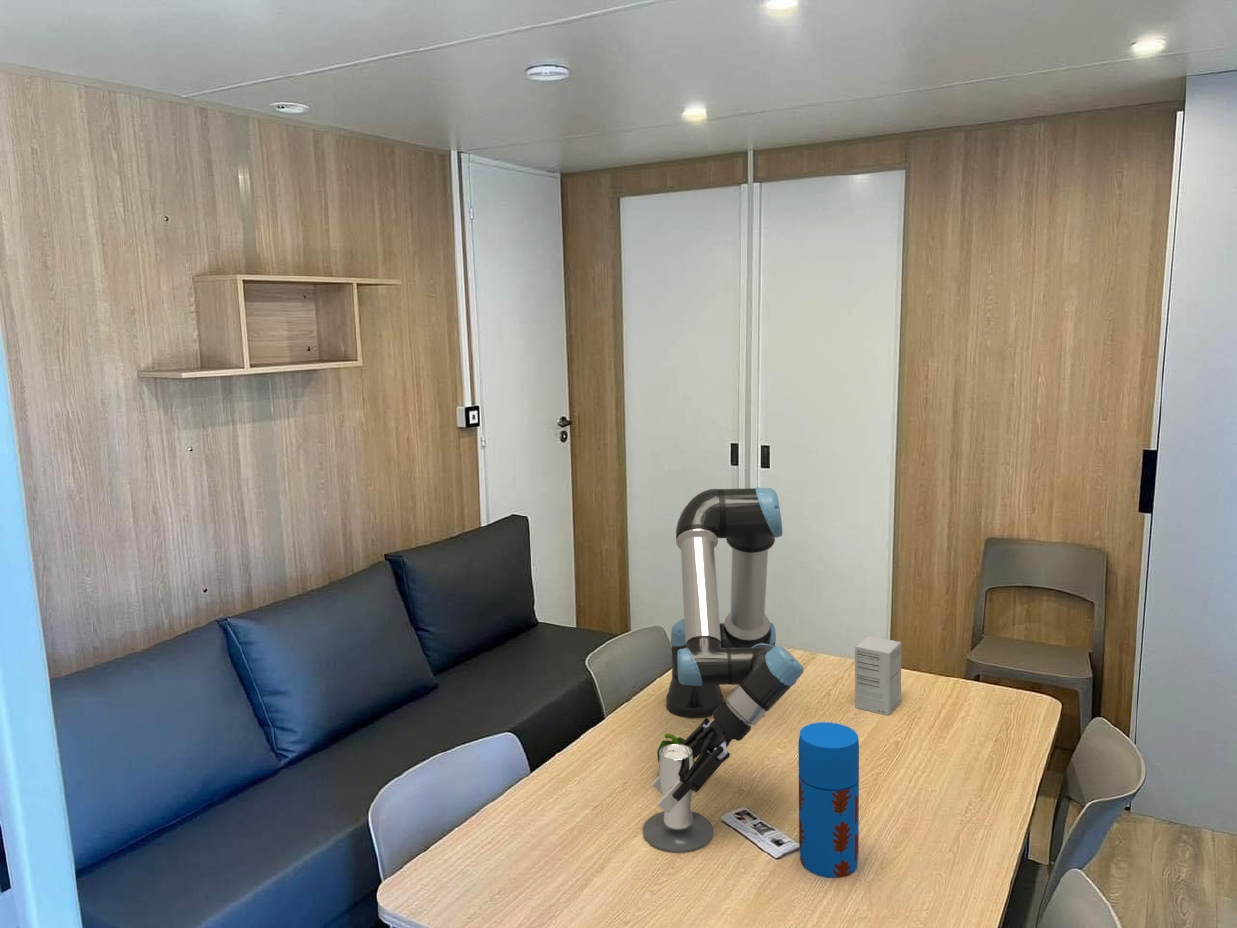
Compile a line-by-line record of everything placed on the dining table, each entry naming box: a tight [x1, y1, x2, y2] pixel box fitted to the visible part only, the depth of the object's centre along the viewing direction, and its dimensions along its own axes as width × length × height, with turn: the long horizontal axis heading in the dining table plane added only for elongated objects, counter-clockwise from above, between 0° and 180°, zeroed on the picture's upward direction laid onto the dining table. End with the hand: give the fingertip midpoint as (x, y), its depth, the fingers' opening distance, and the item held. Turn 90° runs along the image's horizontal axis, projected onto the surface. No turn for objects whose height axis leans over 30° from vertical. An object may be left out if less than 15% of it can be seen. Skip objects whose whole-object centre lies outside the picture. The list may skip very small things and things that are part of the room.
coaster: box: [642, 810, 714, 854], centre depth 177 cm, size 14×14×1 cm
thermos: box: [797, 721, 860, 879], centre depth 164 cm, size 11×11×25 cm
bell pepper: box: [656, 733, 696, 763], centre depth 198 cm, size 8×8×10 cm
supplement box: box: [854, 635, 902, 717], centre depth 230 cm, size 10×9×17 cm
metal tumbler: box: [658, 744, 695, 830], centre depth 176 cm, size 7×7×15 cm
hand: (659, 798), depth 176 cm, fingers closed on metal tumbler, 7 cm apart
